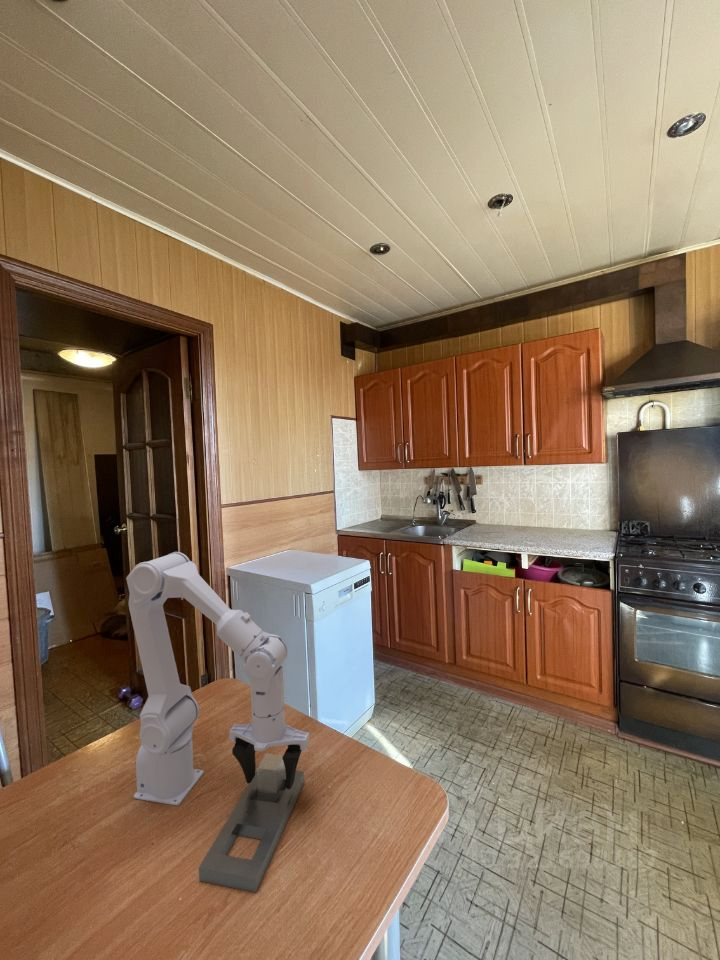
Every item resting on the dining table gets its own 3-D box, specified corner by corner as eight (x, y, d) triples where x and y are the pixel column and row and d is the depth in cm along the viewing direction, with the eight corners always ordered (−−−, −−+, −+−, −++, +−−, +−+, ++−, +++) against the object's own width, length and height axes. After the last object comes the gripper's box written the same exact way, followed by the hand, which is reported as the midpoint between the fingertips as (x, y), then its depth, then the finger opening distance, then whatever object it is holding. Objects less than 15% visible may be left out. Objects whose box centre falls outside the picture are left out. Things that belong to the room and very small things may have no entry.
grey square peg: (258, 806, 70) (257, 767, 70) (267, 790, 74) (265, 753, 74) (277, 809, 70) (276, 770, 69) (285, 792, 73) (284, 755, 73)
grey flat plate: (199, 880, 58) (198, 867, 58) (260, 775, 77) (260, 765, 77) (256, 892, 56) (255, 878, 56) (304, 781, 75) (303, 771, 75)
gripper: (219, 717, 69) (222, 794, 69) (298, 726, 66) (301, 806, 66) (239, 694, 75) (242, 764, 76) (312, 701, 73) (314, 774, 73)
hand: (270, 781), depth 71 cm, fingers open, 7 cm apart
